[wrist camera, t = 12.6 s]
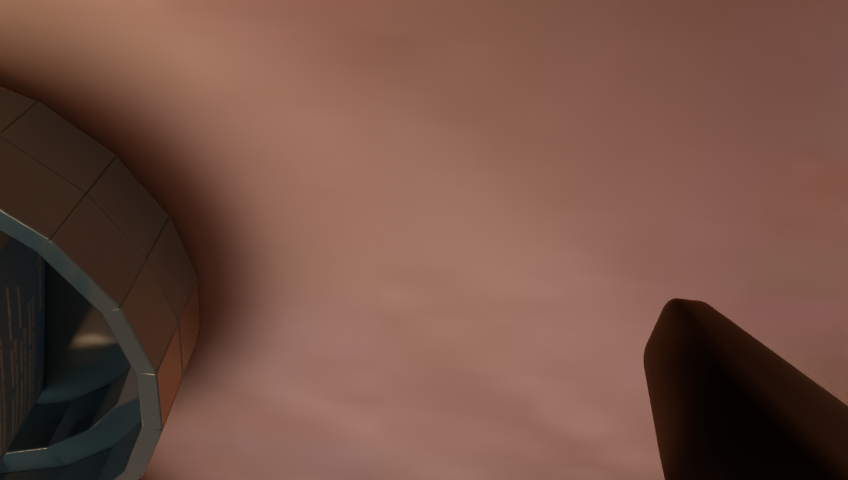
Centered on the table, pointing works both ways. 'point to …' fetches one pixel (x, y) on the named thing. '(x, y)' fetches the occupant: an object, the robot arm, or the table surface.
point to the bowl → (94, 300)
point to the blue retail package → (20, 335)
